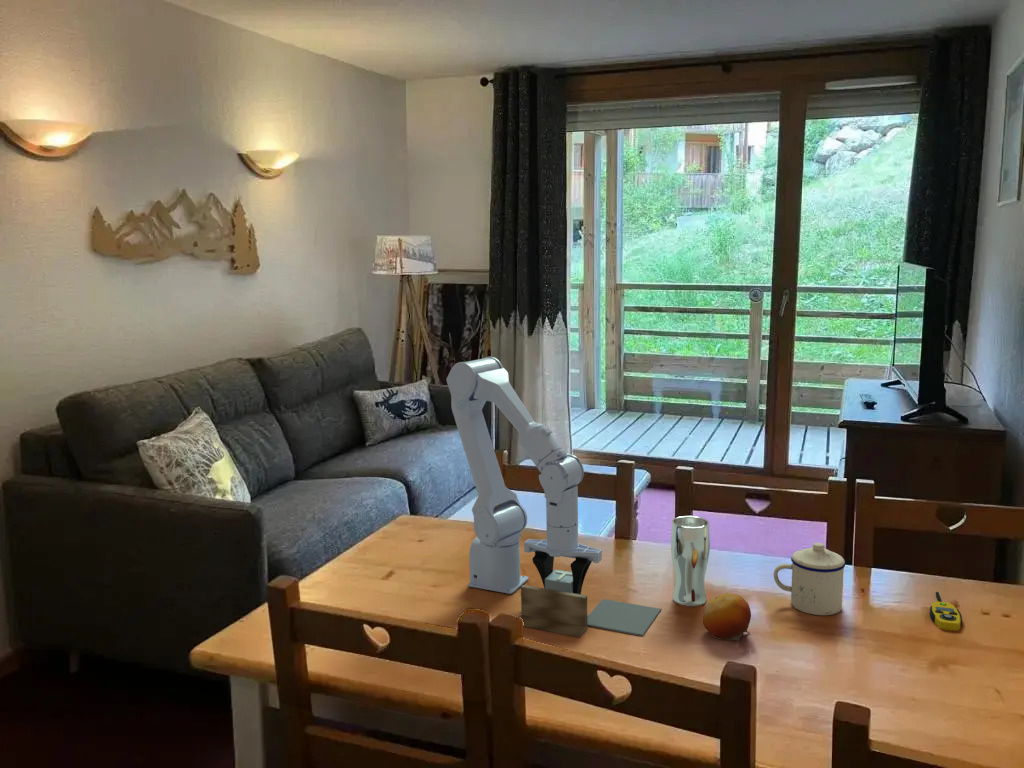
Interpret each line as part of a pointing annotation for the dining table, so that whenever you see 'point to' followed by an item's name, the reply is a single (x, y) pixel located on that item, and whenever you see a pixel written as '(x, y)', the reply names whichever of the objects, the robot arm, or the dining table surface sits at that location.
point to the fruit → (727, 616)
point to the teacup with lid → (815, 580)
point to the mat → (622, 617)
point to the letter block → (560, 581)
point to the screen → (554, 610)
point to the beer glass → (690, 559)
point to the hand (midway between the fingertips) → (562, 593)
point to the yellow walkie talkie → (945, 615)
